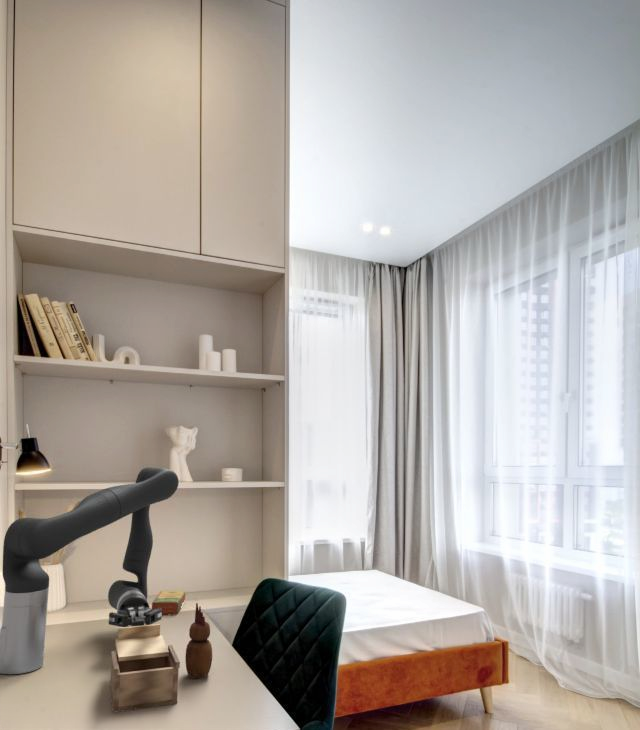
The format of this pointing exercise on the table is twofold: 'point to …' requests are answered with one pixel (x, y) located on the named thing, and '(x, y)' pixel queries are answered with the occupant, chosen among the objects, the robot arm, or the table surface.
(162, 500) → the robot arm
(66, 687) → the table surface
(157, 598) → the carton
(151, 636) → the lid
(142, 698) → the light wooden box
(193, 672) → the wooden figurine
